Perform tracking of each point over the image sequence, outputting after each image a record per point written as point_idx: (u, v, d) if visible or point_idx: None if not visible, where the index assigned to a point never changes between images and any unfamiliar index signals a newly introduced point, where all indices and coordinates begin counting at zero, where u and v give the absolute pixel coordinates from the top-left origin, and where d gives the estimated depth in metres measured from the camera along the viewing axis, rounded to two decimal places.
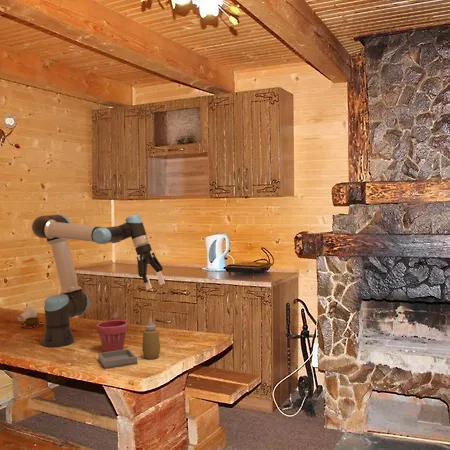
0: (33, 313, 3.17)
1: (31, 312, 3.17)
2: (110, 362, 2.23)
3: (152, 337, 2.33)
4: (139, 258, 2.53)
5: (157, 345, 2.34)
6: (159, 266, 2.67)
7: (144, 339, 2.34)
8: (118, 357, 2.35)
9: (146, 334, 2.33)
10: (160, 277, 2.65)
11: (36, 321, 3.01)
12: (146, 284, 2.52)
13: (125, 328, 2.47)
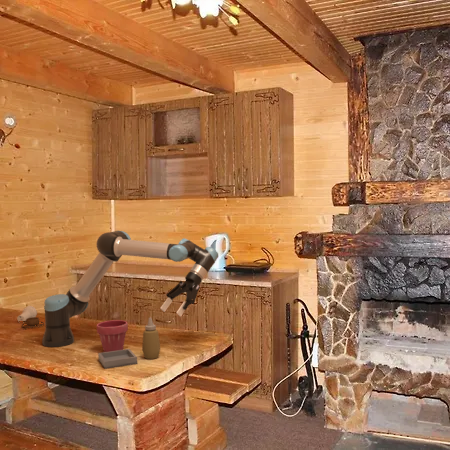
0: (33, 313, 3.17)
1: (31, 312, 3.16)
2: (110, 362, 2.23)
3: (152, 337, 2.33)
4: (197, 287, 2.43)
5: (157, 345, 2.34)
6: None
7: (144, 339, 2.34)
8: (118, 357, 2.35)
9: (146, 334, 2.33)
10: (167, 304, 2.49)
11: (36, 321, 3.00)
12: (181, 309, 2.37)
13: (125, 328, 2.47)
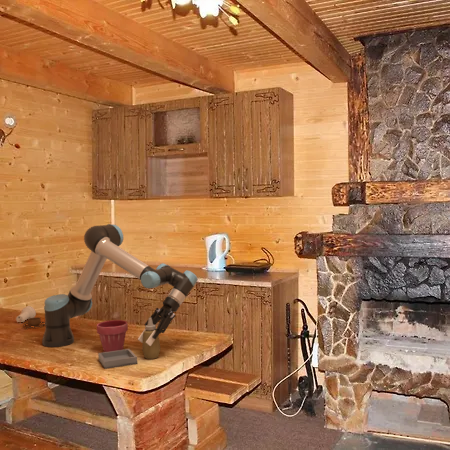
0: (31, 313, 3.16)
1: (29, 312, 3.15)
2: (110, 362, 2.23)
3: None
4: (172, 316, 2.35)
5: (157, 345, 2.34)
6: None
7: (144, 339, 2.34)
8: (118, 357, 2.35)
9: (146, 334, 2.33)
10: None
11: (38, 321, 3.00)
12: (151, 339, 2.32)
13: (125, 328, 2.47)
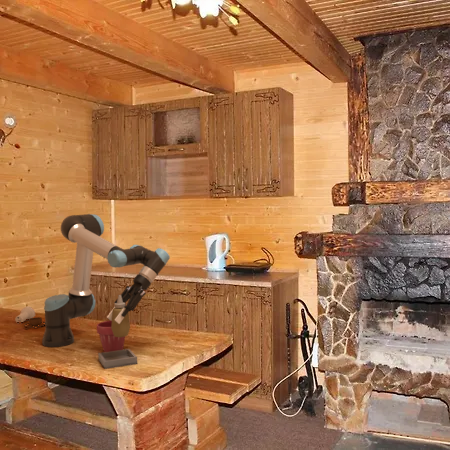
0: (31, 314, 3.15)
1: (29, 313, 3.14)
2: (110, 362, 2.23)
3: None
4: (142, 294, 2.30)
5: (126, 323, 2.29)
6: None
7: (113, 317, 2.29)
8: (118, 357, 2.35)
9: (115, 312, 2.28)
10: None
11: (39, 321, 3.00)
12: (120, 316, 2.26)
13: None
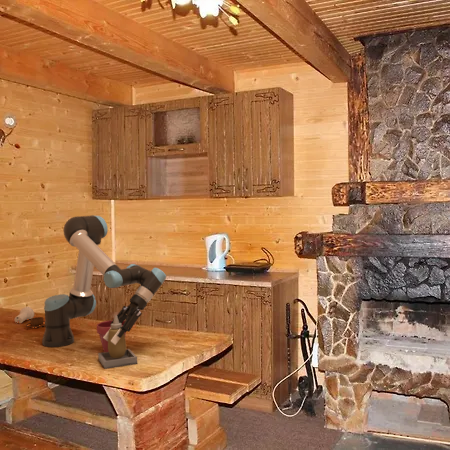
0: (30, 314, 3.14)
1: (28, 313, 3.14)
2: (110, 362, 2.23)
3: None
4: (138, 314, 2.30)
5: (122, 343, 2.29)
6: None
7: (109, 337, 2.29)
8: None
9: (111, 332, 2.28)
10: None
11: (40, 321, 3.00)
12: (116, 337, 2.26)
13: None
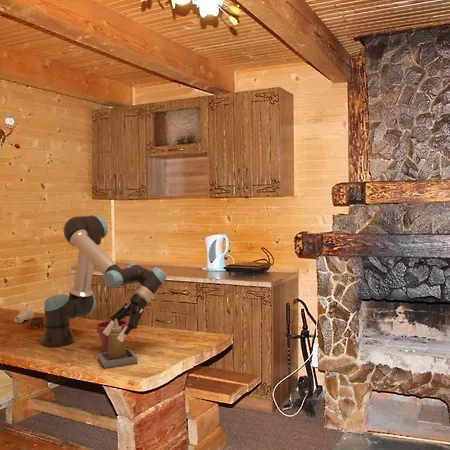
0: (29, 314, 3.14)
1: (27, 313, 3.13)
2: (110, 362, 2.23)
3: (117, 339, 2.28)
4: (141, 311, 2.30)
5: (122, 347, 2.29)
6: None
7: (109, 341, 2.29)
8: None
9: (111, 336, 2.28)
10: (110, 328, 2.36)
11: (41, 321, 3.00)
12: (122, 335, 2.25)
13: None
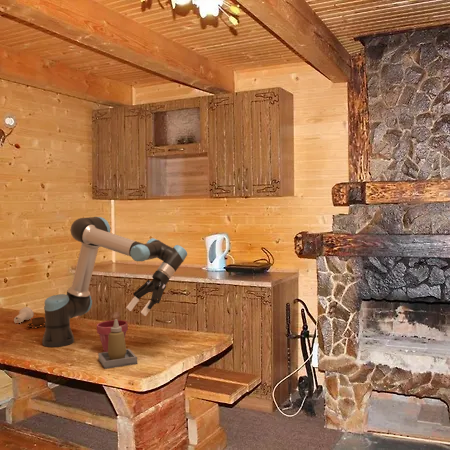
0: (29, 314, 3.14)
1: (27, 313, 3.13)
2: (110, 362, 2.23)
3: (117, 339, 2.28)
4: (163, 287, 2.37)
5: (122, 347, 2.29)
6: None
7: (109, 341, 2.29)
8: None
9: (111, 336, 2.28)
10: (133, 303, 2.43)
11: (41, 321, 3.00)
12: (146, 309, 2.31)
13: (125, 328, 2.47)
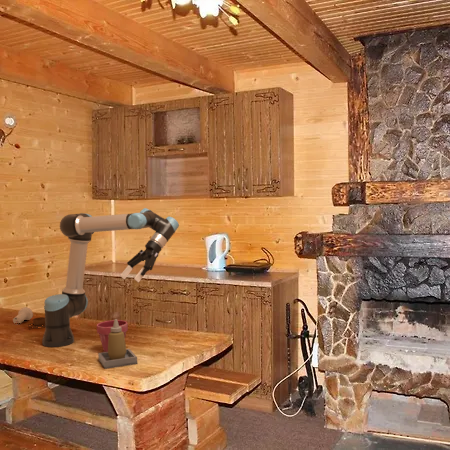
0: (28, 315, 3.13)
1: (26, 314, 3.12)
2: (110, 362, 2.23)
3: (117, 339, 2.28)
4: (156, 255, 2.48)
5: (122, 347, 2.29)
6: None
7: (109, 341, 2.29)
8: None
9: (111, 336, 2.28)
10: (127, 272, 2.53)
11: (42, 321, 3.00)
12: (139, 275, 2.42)
13: (125, 328, 2.47)
